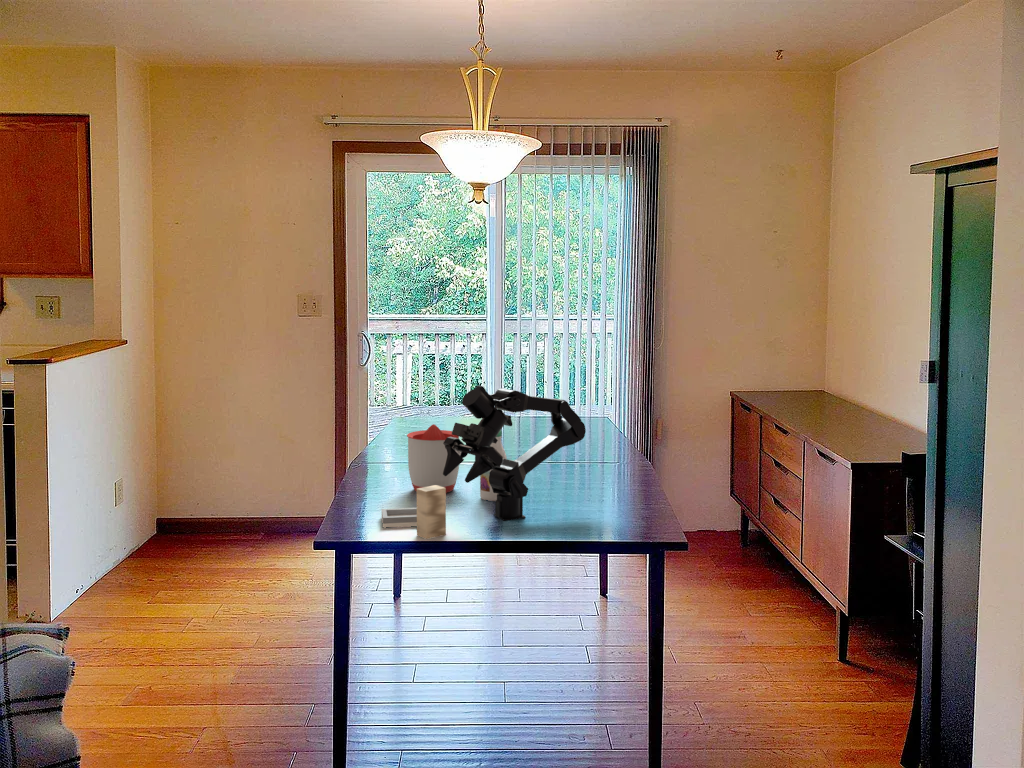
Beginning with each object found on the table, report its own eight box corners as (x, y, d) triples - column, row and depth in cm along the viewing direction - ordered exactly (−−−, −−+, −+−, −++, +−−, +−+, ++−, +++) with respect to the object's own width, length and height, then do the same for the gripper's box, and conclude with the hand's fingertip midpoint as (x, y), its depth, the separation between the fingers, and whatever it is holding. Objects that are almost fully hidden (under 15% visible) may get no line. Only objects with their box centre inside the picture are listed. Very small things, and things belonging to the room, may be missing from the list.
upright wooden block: (436, 531, 240) (436, 484, 239) (445, 534, 237) (445, 487, 236) (416, 535, 236) (416, 488, 235) (426, 539, 233) (425, 491, 232)
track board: (441, 515, 255) (441, 506, 255) (445, 525, 245) (445, 515, 245) (381, 517, 252) (381, 508, 252) (383, 528, 243) (383, 518, 242)
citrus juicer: (464, 497, 274) (464, 429, 272) (404, 496, 275) (403, 428, 272) (467, 484, 290) (467, 420, 287) (411, 484, 290) (410, 419, 288)
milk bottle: (506, 495, 277) (506, 427, 275) (507, 501, 270) (507, 432, 267) (480, 495, 277) (480, 427, 274) (480, 501, 269) (480, 432, 267)
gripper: (448, 406, 248) (414, 454, 242) (493, 415, 234) (458, 466, 228) (472, 431, 254) (440, 478, 249) (517, 441, 240) (484, 492, 235)
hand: (454, 478), depth 240 cm, fingers open, 9 cm apart
